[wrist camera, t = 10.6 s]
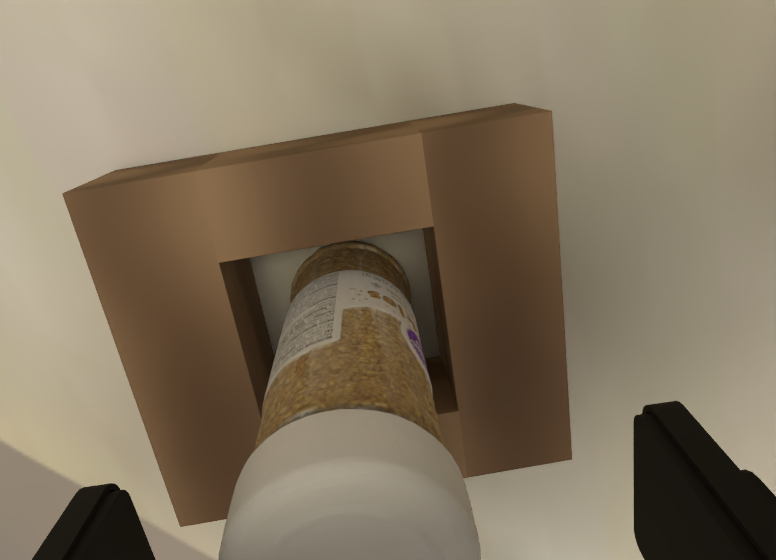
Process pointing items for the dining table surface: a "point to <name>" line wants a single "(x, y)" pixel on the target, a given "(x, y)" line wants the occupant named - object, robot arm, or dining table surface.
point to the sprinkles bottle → (350, 430)
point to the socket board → (321, 227)
